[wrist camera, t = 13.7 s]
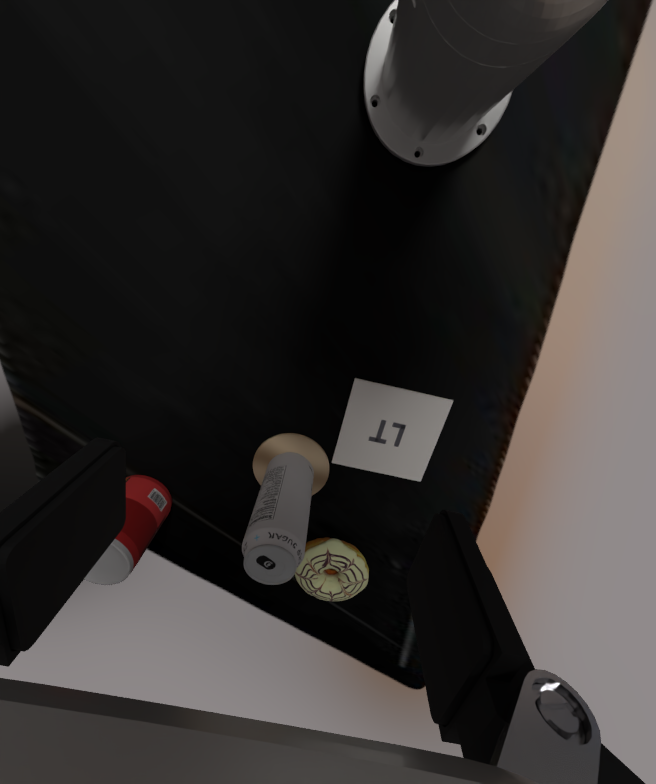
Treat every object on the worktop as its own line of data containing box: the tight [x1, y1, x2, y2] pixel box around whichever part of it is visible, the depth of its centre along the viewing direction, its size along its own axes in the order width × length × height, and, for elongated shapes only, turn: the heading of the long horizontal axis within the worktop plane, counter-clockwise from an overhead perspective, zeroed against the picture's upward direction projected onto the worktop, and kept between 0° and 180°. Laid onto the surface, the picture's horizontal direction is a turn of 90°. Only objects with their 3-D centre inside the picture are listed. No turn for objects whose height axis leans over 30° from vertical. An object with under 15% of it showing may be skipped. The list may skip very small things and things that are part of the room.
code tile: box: [332, 378, 453, 482], centre depth 43 cm, size 12×12×1 cm
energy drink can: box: [242, 452, 314, 585], centre depth 39 cm, size 6×6×15 cm
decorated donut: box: [295, 537, 369, 601], centre depth 51 cm, size 10×11×4 cm
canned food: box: [84, 475, 172, 585], centre depth 44 cm, size 8×8×11 cm
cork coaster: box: [253, 433, 329, 496], centre depth 46 cm, size 10×10×1 cm
